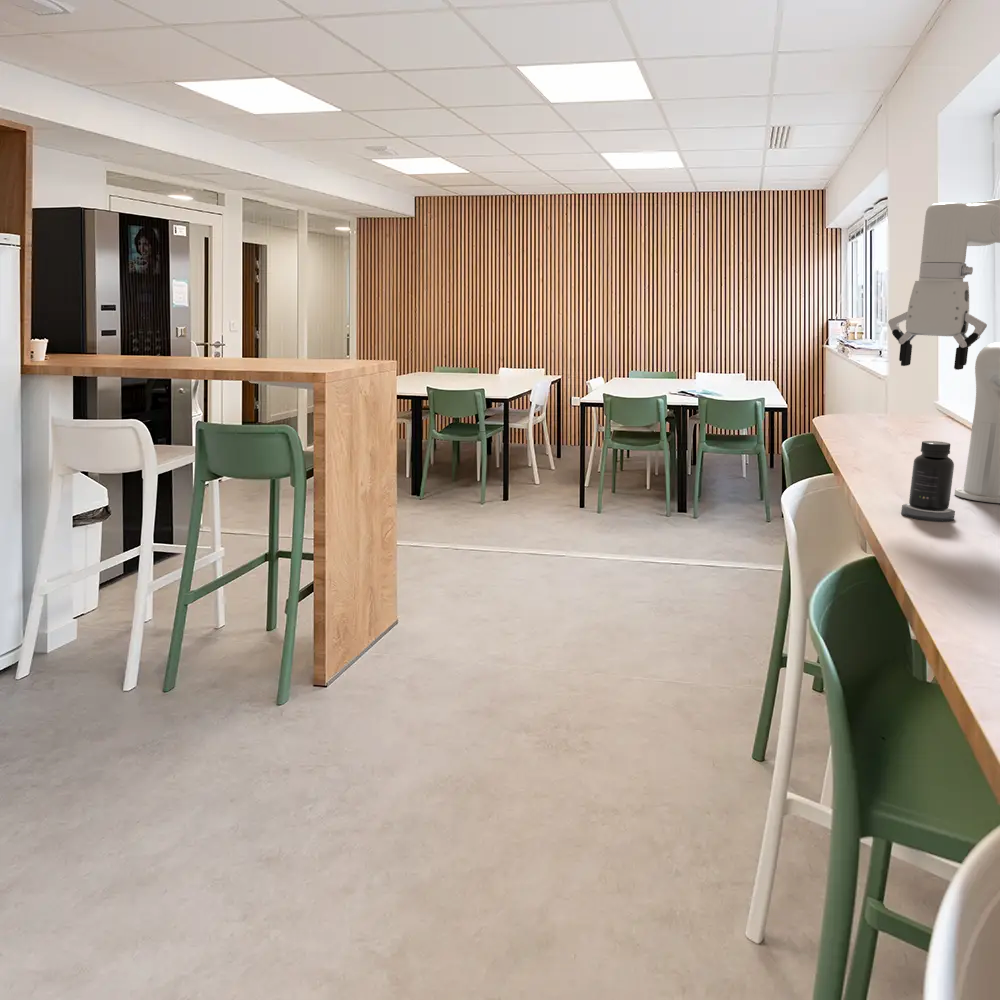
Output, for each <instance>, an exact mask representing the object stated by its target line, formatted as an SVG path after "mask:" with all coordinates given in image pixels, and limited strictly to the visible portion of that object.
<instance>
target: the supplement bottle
mask: <svg viewBox="0 0 1000 1000" xmlns="http://www.w3.org/2000/svg"><path fill="white" fill-rule="evenodd" d="M920 452H921V454H920V455H918V456H916V457H915V458H914V460H913V464H912V473H911V481H910V482H911V483H910V489H909V490H910V491H909V498H908V499H909V500H908V504H910V506H912V507H914V508H918V509H924V510H934V511H942V510H946V509H948V508H949V507H950V500H951V495H952V485H953V478H954V469H955V468H954V467H955V463H954V461H953V459H951V458H950V457H949V455H950V454H951V443H950V442H947V441H946V442H945V441H940V440H939V441H938V440H924V441H921V448H920Z"/></svg>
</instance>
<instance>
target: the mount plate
mask: <svg viewBox="0 0 1000 1000" xmlns="http://www.w3.org/2000/svg"><path fill="white" fill-rule="evenodd" d="M900 511H901V512H900V514H901V515H902V516H904V517H908V518H911V519H916V520H921V521H927V522H929V521H930V522H938V523H939V522H945V523H946V522H953V521H954V520H955V515H956V514H955V513H956V510H954V509H952V508H949V507H948V509H946V510H942V511H934V510H924V509H918V508H914V507H912V506H910V504H909V503H905V504H902V505H901V509H900Z"/></svg>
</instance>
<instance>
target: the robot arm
mask: <svg viewBox="0 0 1000 1000" xmlns="http://www.w3.org/2000/svg"><path fill="white" fill-rule="evenodd" d="M922 236H923V237H922V244H921V256H920V266H919V273H918V274H919V277H918V280H914V284H913V287H912V289H911V290H912V291H911V294H910V298H909V303H908V307H907V311H905V312H903V313H901V314H899V315H898V316H897V315H896V316H894V317H893V318H891V319H889V320H888V322H887V323H888V326H889V328H890V331H891V332H892V333H891V334H892V335H893V337H894V338H895V339H896V340H897V341H898V342H897V343H898V344H899V345H900V347H899V358H898V360H899V362H900V366H901V367H907V366H910V365H911V361H912V352H913V351H912V350H913V344H912V343H911V341H912V340H913V339H914V338H916V336H929V337H930V336H931V337H932V336H934V337H953V339H954V340H955V341H956V343H957V344H958V347H956V348H955V356H954V365H953V369H954V370H955V371H957V370H958V371H959V370H963V369H964V366H966V365H967V362H968V353H969V348H970V347H971V346H972V344H974V343H975V342H976V341H978V340H979V339H980V338H981V336H982V334H983V333H984V332H985V330H986V328H987V325H988V324H987V323H986V322H984V321H983V320H980V319H979V318H977V317H975V316H973V315H972V314H970V288H969V287H970V286H969V281H964V279H965V278H966V276H968V275H972V274H973V270H974V268H973V266H967V263H966V257H967V247H983V246H991V245H993V244H995V243H996V244H997V243H998V244H1000V198H996V199H990V200H985V201H977V202H976V201H975V202H965V203H962V202H939V203H933V204H930V205H929V206H928V207H927V208H926V211H925V215H924V227H923V234H922ZM903 322H905V331H906V332H903V331H902V329H901V328H900V323H903ZM969 324H970V325H971V326H973V327H974V330H973V332H972V333H970V335H968V336H967V335H966V334H967V333H968V330H969ZM974 374H975V404H974V412H973V419H972V426H971V433H970V434H971V435H970V439H969V440H970V441H969V447H968V454H967V461H966V467H965V474H964V482H963V486H962V487H956V488H955V489H954V495H955V496H957V497H959V498H962V499H966V500H971V501H976V502H982V503H983V502H984V503H991V504H1000V341H999V342H992V343H989V344H988V345H985V346H984V347H982V349H980V351H979V353H978V354H977V356H976V359H975V366H974Z"/></svg>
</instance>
